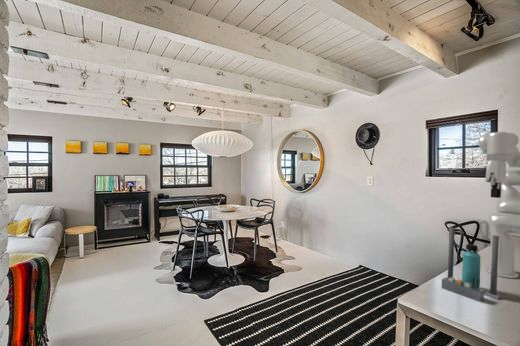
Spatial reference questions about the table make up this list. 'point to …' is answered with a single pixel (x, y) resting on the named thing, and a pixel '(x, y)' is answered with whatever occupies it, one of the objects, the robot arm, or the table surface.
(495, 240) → the cord post
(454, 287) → the pdu strip
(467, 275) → the beverage bottle
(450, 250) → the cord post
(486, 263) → the table surface
